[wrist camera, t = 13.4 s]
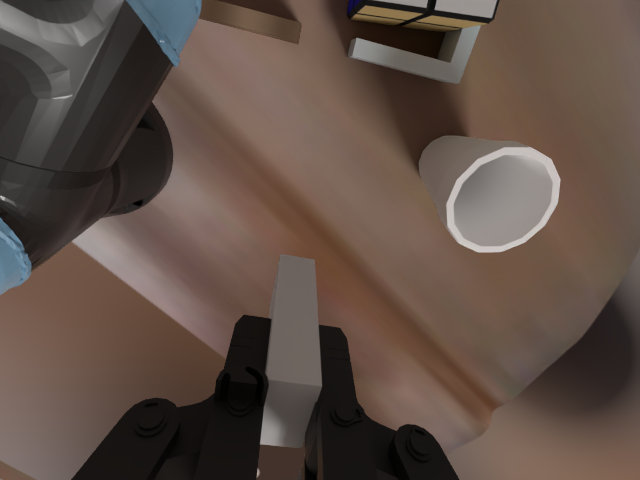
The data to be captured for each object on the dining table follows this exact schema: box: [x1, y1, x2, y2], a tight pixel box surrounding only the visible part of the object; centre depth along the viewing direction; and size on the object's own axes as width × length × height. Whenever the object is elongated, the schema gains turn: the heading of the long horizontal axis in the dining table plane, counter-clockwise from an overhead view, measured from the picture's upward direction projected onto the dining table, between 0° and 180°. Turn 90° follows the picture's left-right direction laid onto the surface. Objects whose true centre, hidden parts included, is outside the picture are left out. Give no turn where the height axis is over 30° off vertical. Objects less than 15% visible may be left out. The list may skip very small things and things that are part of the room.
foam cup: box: [418, 136, 560, 252], centre depth 34 cm, size 10×9×13 cm
